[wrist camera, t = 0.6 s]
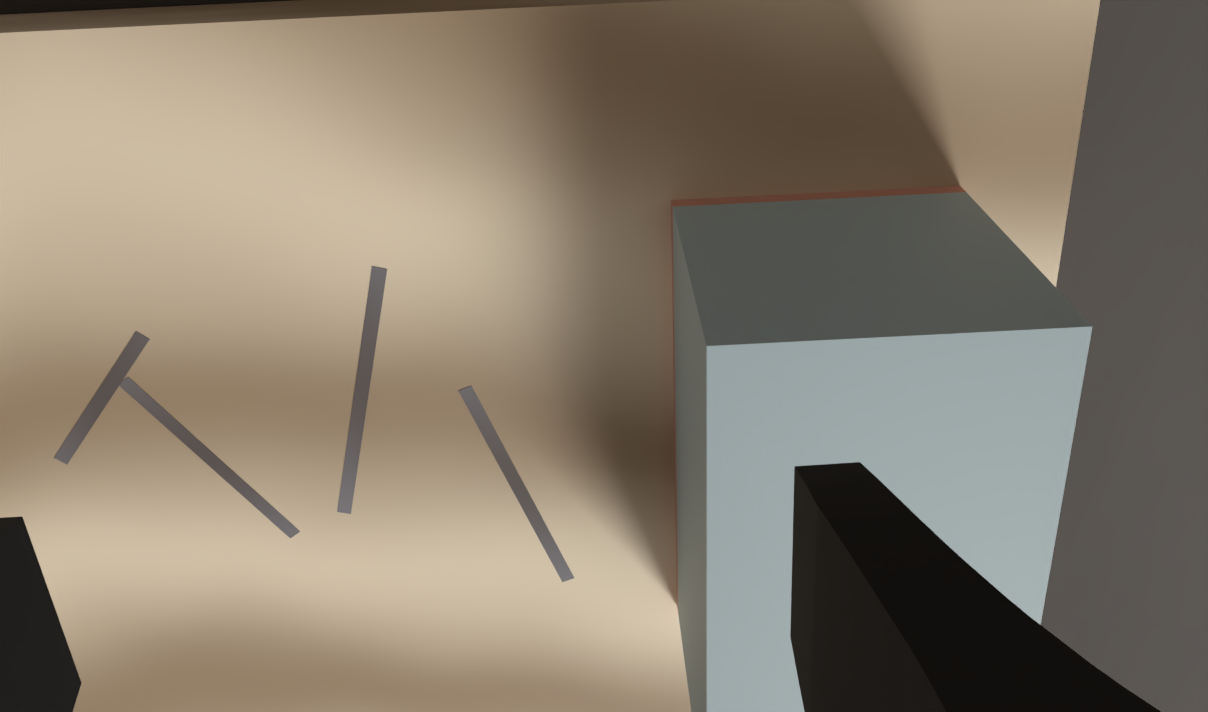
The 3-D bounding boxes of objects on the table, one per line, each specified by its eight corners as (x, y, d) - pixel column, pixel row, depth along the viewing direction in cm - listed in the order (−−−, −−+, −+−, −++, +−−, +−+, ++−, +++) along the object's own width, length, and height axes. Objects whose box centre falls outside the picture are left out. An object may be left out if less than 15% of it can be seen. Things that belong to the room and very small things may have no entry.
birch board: (967, 654, 24) (990, 706, 23) (-172, 715, 24) (-216, 771, 23) (1062, -37, 18) (1103, -21, 16) (-497, 38, 17) (-584, 61, 16)
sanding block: (916, 592, 21) (1008, 808, 17) (677, 605, 21) (706, 825, 17) (960, 185, 18) (1092, 326, 13) (670, 200, 18) (706, 345, 13)
